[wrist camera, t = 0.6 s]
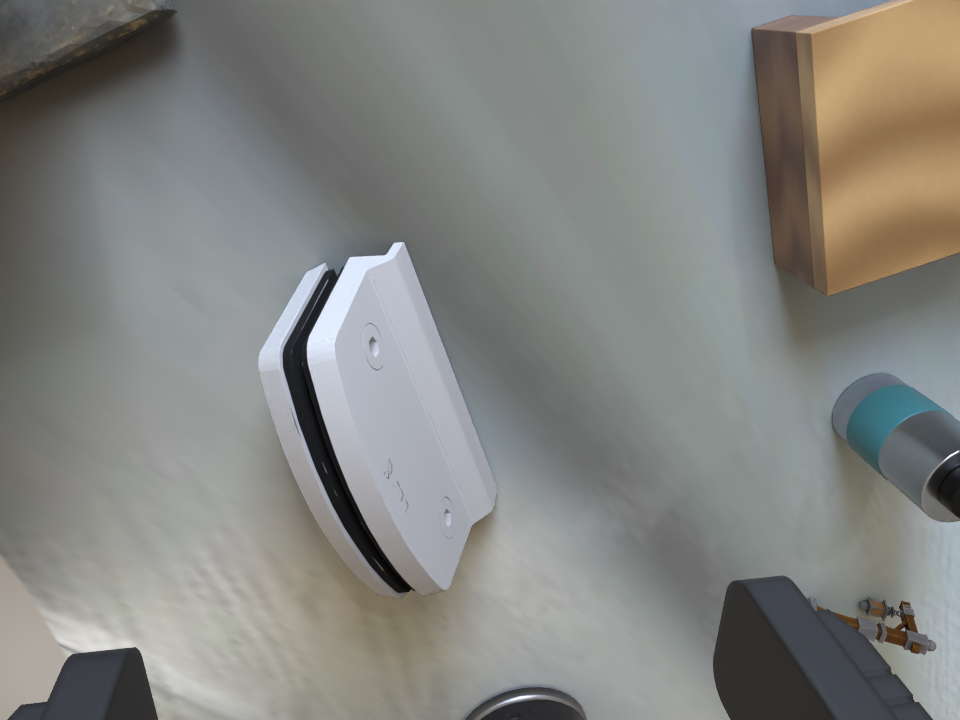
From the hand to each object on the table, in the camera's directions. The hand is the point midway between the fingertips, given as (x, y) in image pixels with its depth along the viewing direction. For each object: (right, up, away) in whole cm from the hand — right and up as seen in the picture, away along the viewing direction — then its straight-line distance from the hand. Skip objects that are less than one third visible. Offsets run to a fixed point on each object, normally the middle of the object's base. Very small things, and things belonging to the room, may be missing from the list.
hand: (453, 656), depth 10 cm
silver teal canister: (+24, +1, +35) cm, 42 cm away
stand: (+20, +16, +27) cm, 37 cm away
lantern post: (+26, -13, +43) cm, 52 cm away
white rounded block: (-5, +2, +30) cm, 30 cm away
